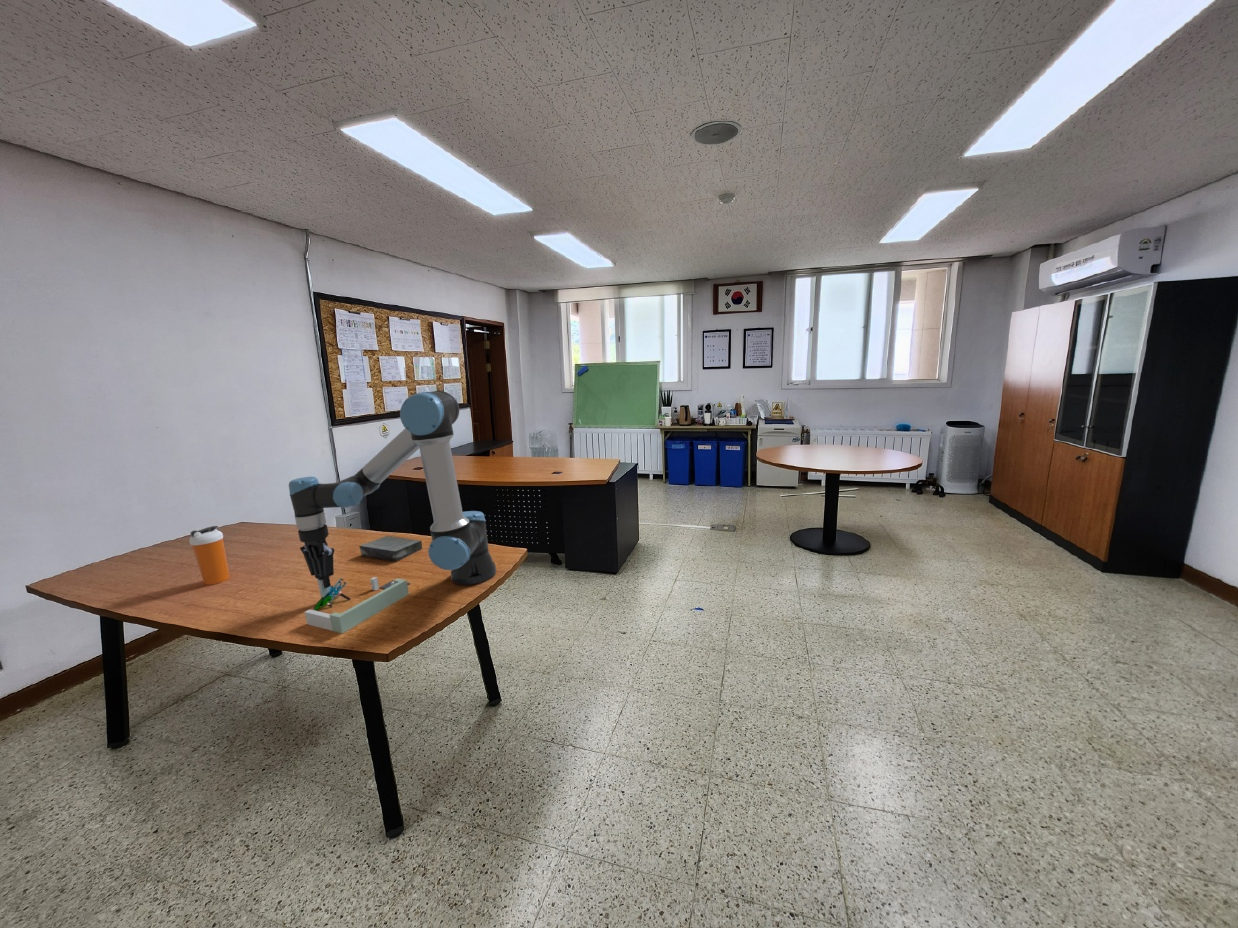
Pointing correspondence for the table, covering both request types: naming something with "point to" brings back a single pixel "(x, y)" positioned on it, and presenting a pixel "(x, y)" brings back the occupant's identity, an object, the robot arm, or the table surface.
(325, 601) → the stick construction toy
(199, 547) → the shaker bottle
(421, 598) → the table surface
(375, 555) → the stone block
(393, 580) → the trap mat
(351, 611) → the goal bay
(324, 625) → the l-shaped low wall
